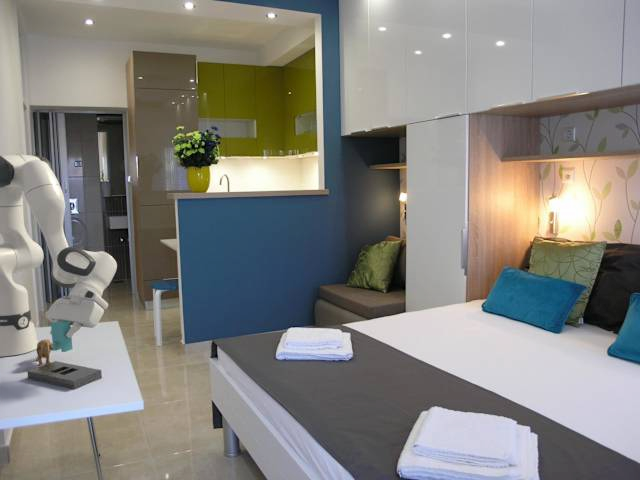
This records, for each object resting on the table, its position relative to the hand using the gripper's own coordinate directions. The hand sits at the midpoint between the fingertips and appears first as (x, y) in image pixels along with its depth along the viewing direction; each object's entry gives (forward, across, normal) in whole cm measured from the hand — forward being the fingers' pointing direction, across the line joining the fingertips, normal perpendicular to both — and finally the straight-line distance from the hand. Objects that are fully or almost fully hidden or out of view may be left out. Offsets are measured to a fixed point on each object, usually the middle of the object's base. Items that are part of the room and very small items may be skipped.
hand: (59, 335), depth 172 cm
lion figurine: (+4, -20, +16) cm, 26 cm away
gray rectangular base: (+9, 0, +10) cm, 14 cm away
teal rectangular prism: (+3, 0, +4) cm, 5 cm away
